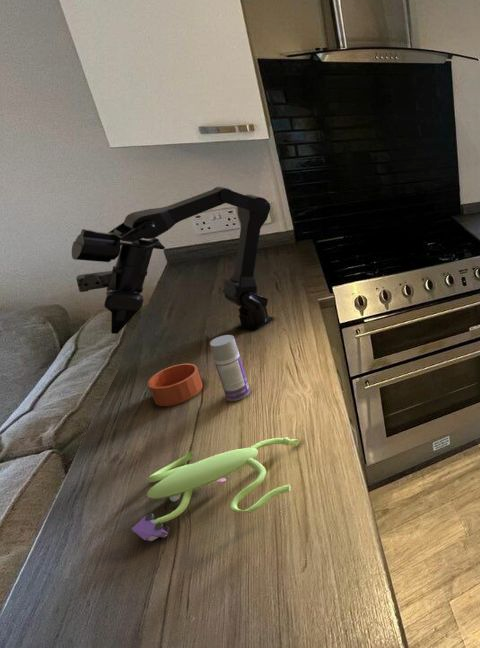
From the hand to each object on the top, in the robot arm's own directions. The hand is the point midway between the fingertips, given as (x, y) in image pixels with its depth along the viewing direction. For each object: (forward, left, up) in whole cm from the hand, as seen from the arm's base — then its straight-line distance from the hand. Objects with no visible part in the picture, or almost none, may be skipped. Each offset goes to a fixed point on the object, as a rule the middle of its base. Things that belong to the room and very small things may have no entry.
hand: (114, 327), depth 104 cm
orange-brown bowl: (+2, +17, -14) cm, 22 cm away
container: (-1, +31, -14) cm, 34 cm away
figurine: (+20, +51, -14) cm, 56 cm away
